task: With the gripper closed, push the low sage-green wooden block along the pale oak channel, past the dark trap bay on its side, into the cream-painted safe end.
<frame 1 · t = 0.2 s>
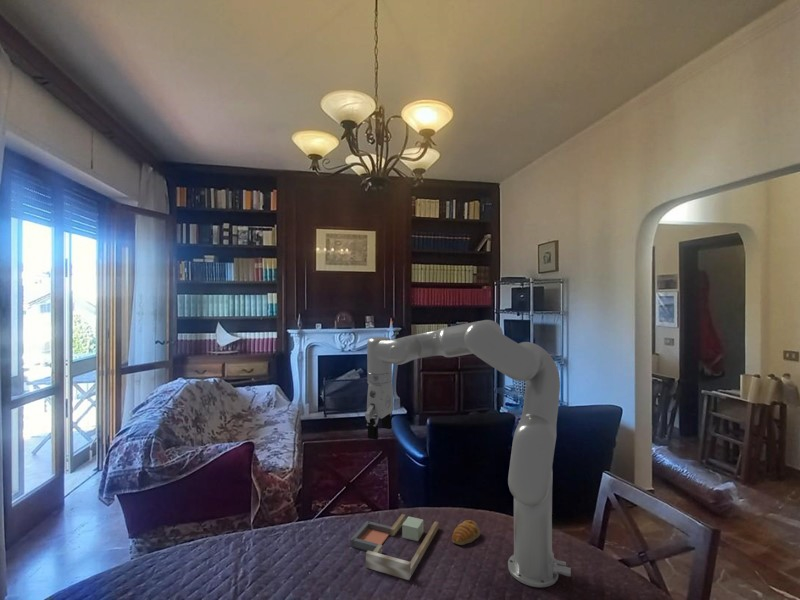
hand: (380, 433, 124), 30 cm above the table, tool pointing down, fingers open, 9 cm apart
pastry: (466, 538, 122), on the table
trap bay: (373, 539, 121), on the table
wooden channel walls: (405, 546, 118), on the table
block: (413, 535, 123), on the table
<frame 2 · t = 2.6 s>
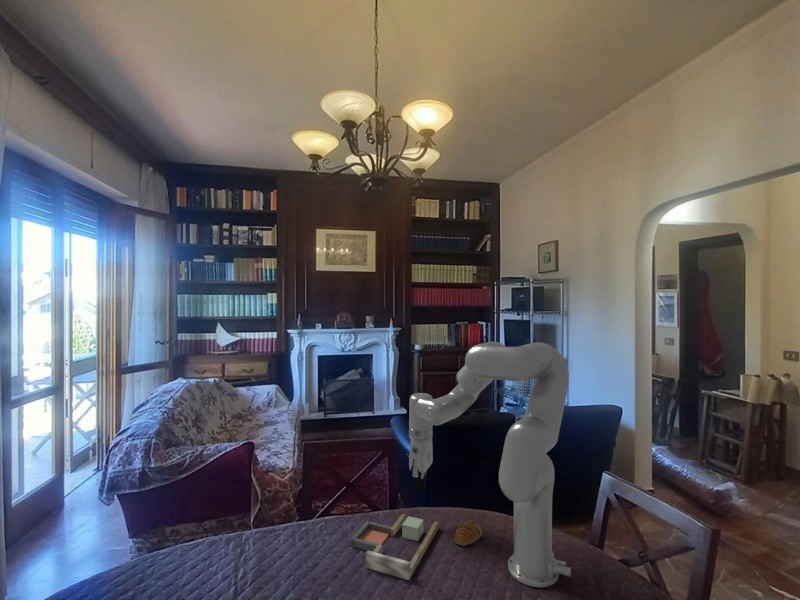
hand: (420, 488, 131), 10 cm above the table, tool pointing down, fingers closed
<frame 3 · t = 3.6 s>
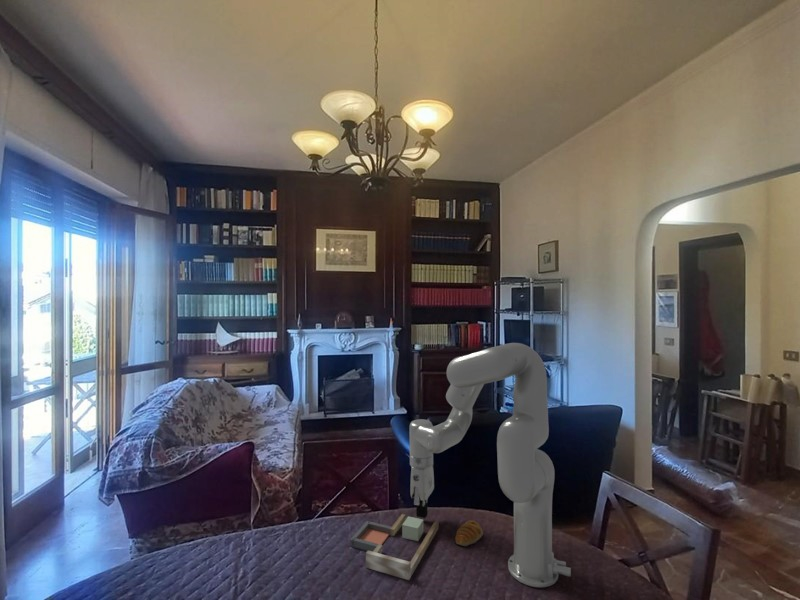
hand: (421, 515, 131), 2 cm above the table, tool pointing down, fingers closed
nothing on the table moved.
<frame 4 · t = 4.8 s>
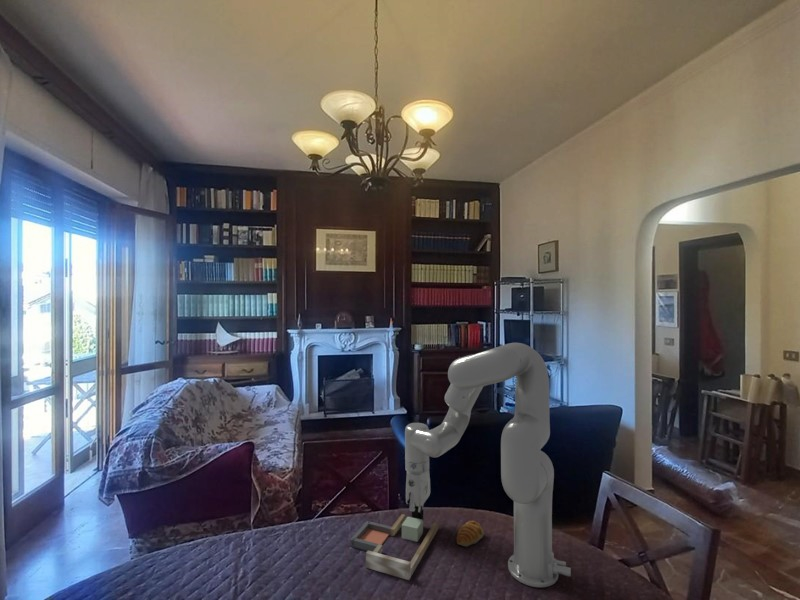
hand: (417, 522, 127), 2 cm above the table, tool pointing down, fingers closed
block: (412, 535, 123), on the table, touching gripper
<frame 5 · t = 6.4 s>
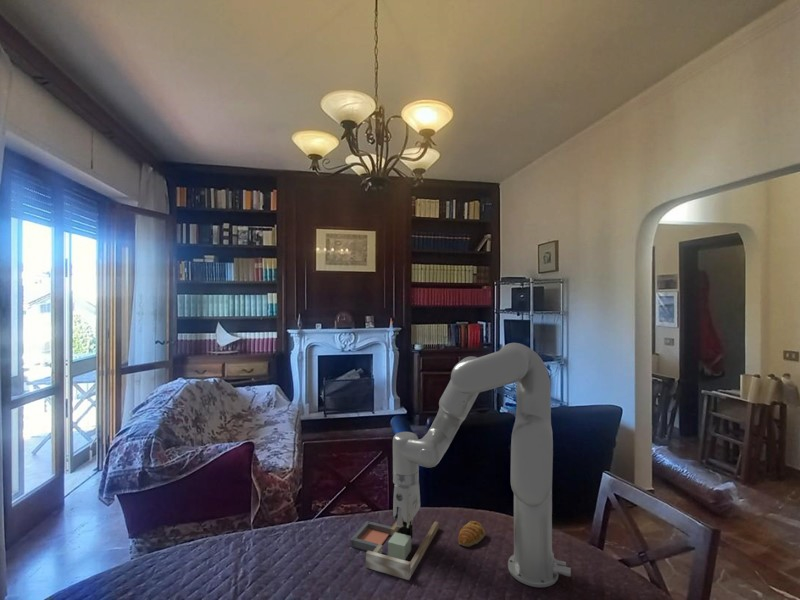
hand: (406, 538, 119), 2 cm above the table, tool pointing down, fingers closed
block: (399, 552, 115), on the table, touching gripper
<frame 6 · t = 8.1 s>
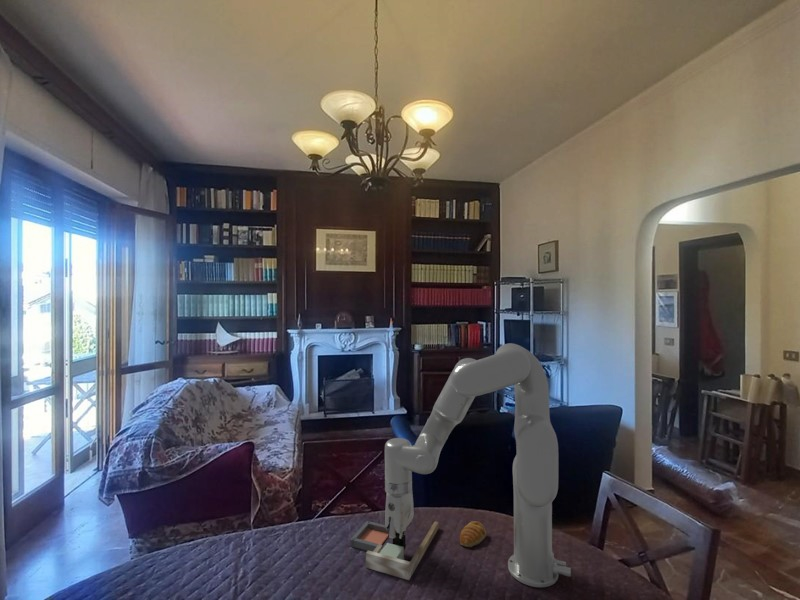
hand: (399, 549, 114), 2 cm above the table, tool pointing down, fingers closed
block: (391, 564, 110), on the table, touching wooden channel walls, gripper
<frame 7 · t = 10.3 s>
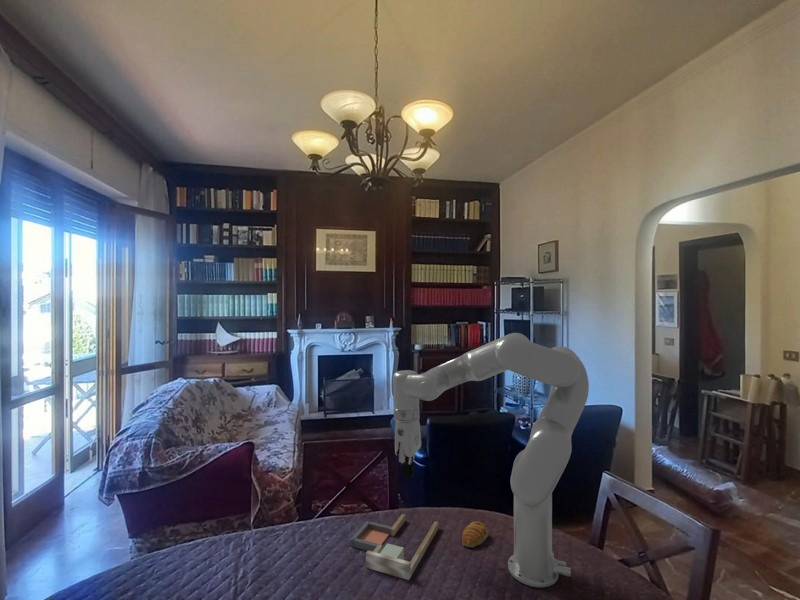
hand: (408, 476, 119), 20 cm above the table, tool pointing down, fingers closed
block: (391, 565, 110), on the table
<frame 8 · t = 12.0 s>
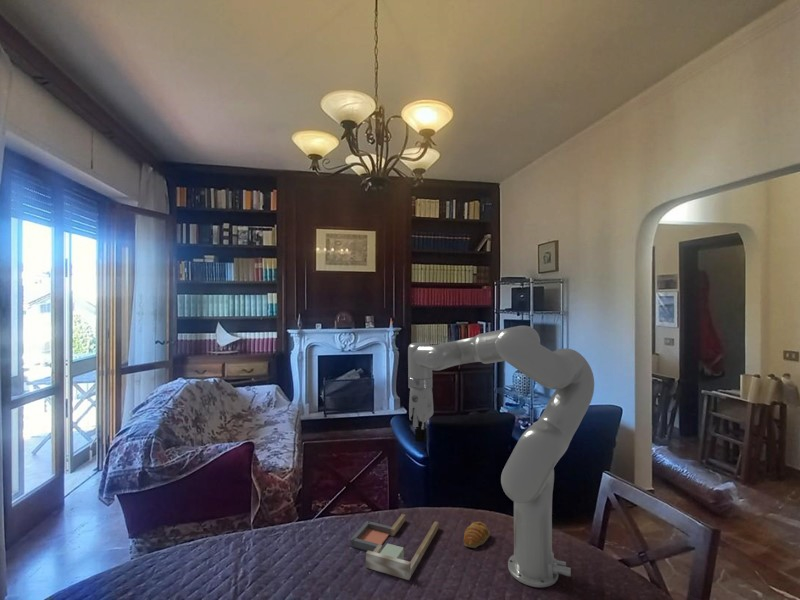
hand: (420, 440, 127), 27 cm above the table, tool pointing down, fingers closed
at the end: block 0.5 cm from the target spot, on the table; block tilted 0°; block moved 14.9 cm from its start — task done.
